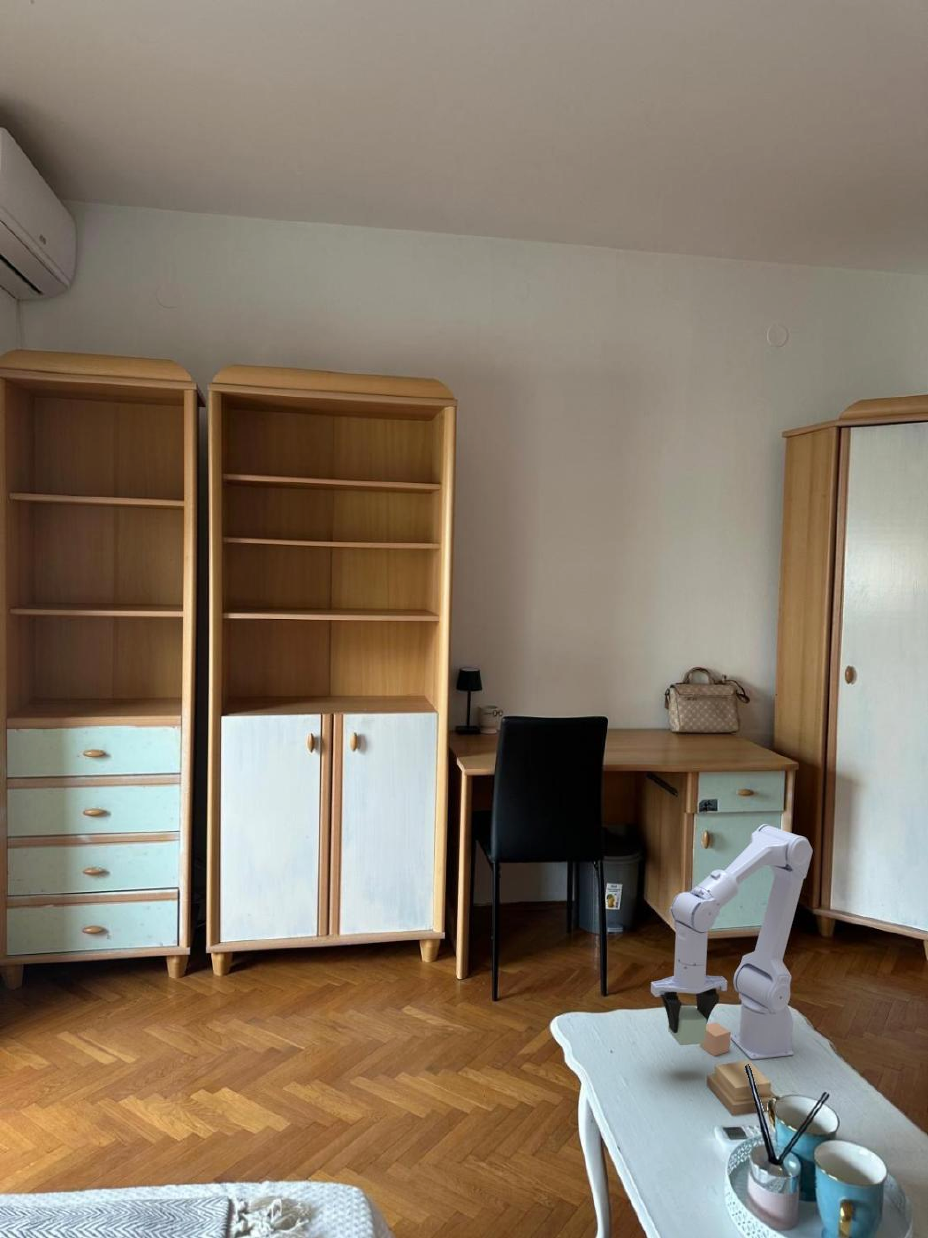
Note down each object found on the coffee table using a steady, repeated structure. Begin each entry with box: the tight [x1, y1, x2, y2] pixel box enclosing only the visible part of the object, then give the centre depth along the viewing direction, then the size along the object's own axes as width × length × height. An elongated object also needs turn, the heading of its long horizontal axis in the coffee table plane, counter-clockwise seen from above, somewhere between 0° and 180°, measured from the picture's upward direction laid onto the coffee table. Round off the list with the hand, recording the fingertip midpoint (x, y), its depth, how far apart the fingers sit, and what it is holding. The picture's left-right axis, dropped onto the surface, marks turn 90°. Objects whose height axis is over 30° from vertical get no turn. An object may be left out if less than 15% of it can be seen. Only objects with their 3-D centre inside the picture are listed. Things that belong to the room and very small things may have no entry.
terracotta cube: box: [699, 1021, 731, 1057], centre depth 171 cm, size 4×4×4 cm
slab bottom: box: [706, 1073, 776, 1116], centre depth 156 cm, size 9×9×2 cm
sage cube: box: [667, 1005, 707, 1046], centre depth 161 cm, size 5×5×5 cm
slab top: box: [714, 1060, 772, 1101], centre depth 156 cm, size 7×7×2 cm
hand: (687, 1028), depth 161 cm, fingers closed on sage cube, 5 cm apart
